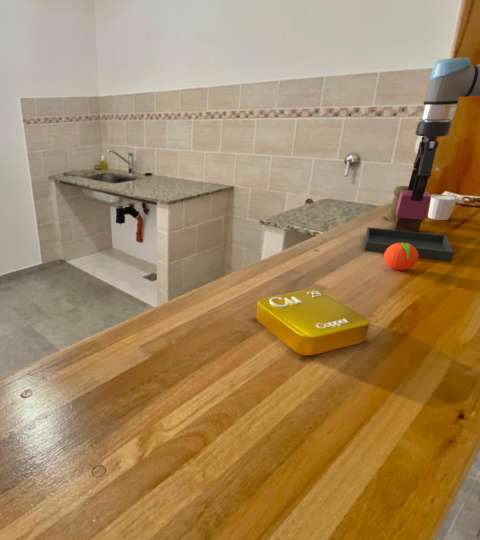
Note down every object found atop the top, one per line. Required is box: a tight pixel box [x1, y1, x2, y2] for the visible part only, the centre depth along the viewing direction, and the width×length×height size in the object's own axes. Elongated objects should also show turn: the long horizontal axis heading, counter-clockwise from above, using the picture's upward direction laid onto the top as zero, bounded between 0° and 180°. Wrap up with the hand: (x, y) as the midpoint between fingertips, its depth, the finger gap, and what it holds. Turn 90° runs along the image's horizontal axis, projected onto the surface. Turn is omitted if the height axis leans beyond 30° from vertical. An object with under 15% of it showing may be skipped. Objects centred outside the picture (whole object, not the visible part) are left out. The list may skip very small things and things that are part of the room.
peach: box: [383, 242, 419, 271], centre depth 95 cm, size 8×7×7 cm
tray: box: [363, 227, 454, 262], centre depth 108 cm, size 19×14×3 cm
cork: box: [385, 185, 411, 221], centre depth 130 cm, size 6×6×11 cm
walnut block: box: [393, 217, 423, 233], centre depth 120 cm, size 6×6×5 cm
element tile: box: [255, 288, 370, 357], centre depth 74 cm, size 15×15×5 cm
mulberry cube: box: [396, 190, 432, 221], centre depth 117 cm, size 7×7×7 cm
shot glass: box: [427, 195, 458, 221], centre depth 129 cm, size 7×7×7 cm
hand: (414, 195), depth 116 cm, fingers open, 13 cm apart
